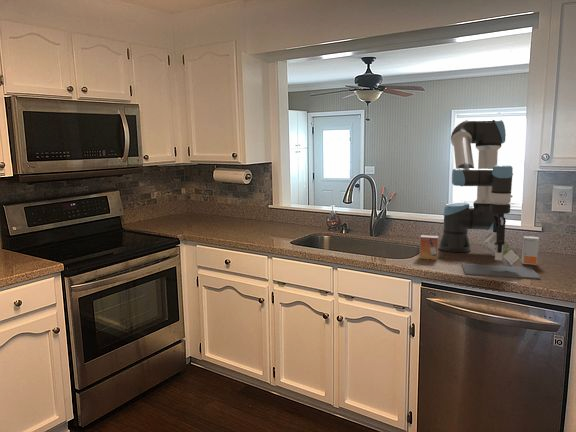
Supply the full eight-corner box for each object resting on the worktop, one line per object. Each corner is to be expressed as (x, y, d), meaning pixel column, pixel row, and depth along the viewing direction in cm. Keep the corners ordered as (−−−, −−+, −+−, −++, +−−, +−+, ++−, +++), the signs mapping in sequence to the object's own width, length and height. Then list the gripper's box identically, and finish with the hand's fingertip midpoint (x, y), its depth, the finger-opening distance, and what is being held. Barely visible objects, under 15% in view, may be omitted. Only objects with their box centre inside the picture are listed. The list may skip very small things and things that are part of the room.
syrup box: (515, 256, 197) (490, 232, 198) (521, 257, 191) (495, 231, 192) (505, 266, 197) (480, 241, 198) (511, 267, 191) (485, 241, 192)
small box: (419, 259, 218) (419, 236, 217) (420, 256, 224) (420, 234, 222) (437, 260, 216) (438, 237, 214) (437, 257, 221) (438, 235, 219)
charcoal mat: (461, 264, 207) (461, 263, 207) (531, 268, 200) (531, 267, 200) (465, 274, 192) (465, 273, 192) (540, 279, 185) (540, 277, 185)
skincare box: (522, 264, 207) (524, 237, 205) (521, 261, 211) (523, 235, 209) (537, 265, 205) (539, 238, 203) (536, 263, 209) (538, 236, 207)
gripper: (515, 206, 181) (511, 264, 185) (506, 200, 200) (502, 252, 204) (494, 206, 183) (490, 263, 187) (487, 199, 202) (484, 251, 206)
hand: (497, 257), depth 195 cm, fingers closed on syrup box, 7 cm apart
